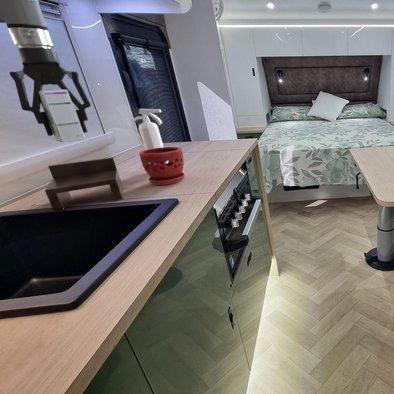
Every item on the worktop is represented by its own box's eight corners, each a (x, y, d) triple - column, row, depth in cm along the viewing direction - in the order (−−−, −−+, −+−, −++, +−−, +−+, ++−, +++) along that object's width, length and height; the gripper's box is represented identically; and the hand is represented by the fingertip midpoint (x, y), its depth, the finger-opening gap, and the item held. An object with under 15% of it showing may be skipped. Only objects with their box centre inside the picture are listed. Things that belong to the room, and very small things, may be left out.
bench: (54, 212, 84) (38, 176, 79) (62, 198, 94) (48, 165, 90) (122, 199, 92) (111, 166, 88) (123, 187, 103) (113, 157, 98)
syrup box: (87, 139, 89) (68, 88, 83) (61, 143, 84) (40, 89, 78) (79, 137, 91) (61, 88, 86) (55, 141, 87) (34, 89, 81)
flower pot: (188, 183, 106) (180, 150, 101) (146, 189, 101) (135, 155, 96) (188, 173, 117) (181, 144, 112) (150, 178, 111) (141, 148, 107)
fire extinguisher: (145, 170, 122) (127, 108, 112) (177, 167, 125) (161, 107, 115) (139, 175, 116) (119, 110, 106) (172, 172, 119) (156, 108, 109)
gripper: (-26, 44, 70) (17, 139, 79) (82, 48, 81) (110, 131, 89) (-15, 47, 76) (24, 135, 84) (85, 50, 86) (111, 128, 95)
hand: (68, 133), depth 87 cm, fingers closed on syrup box, 7 cm apart
